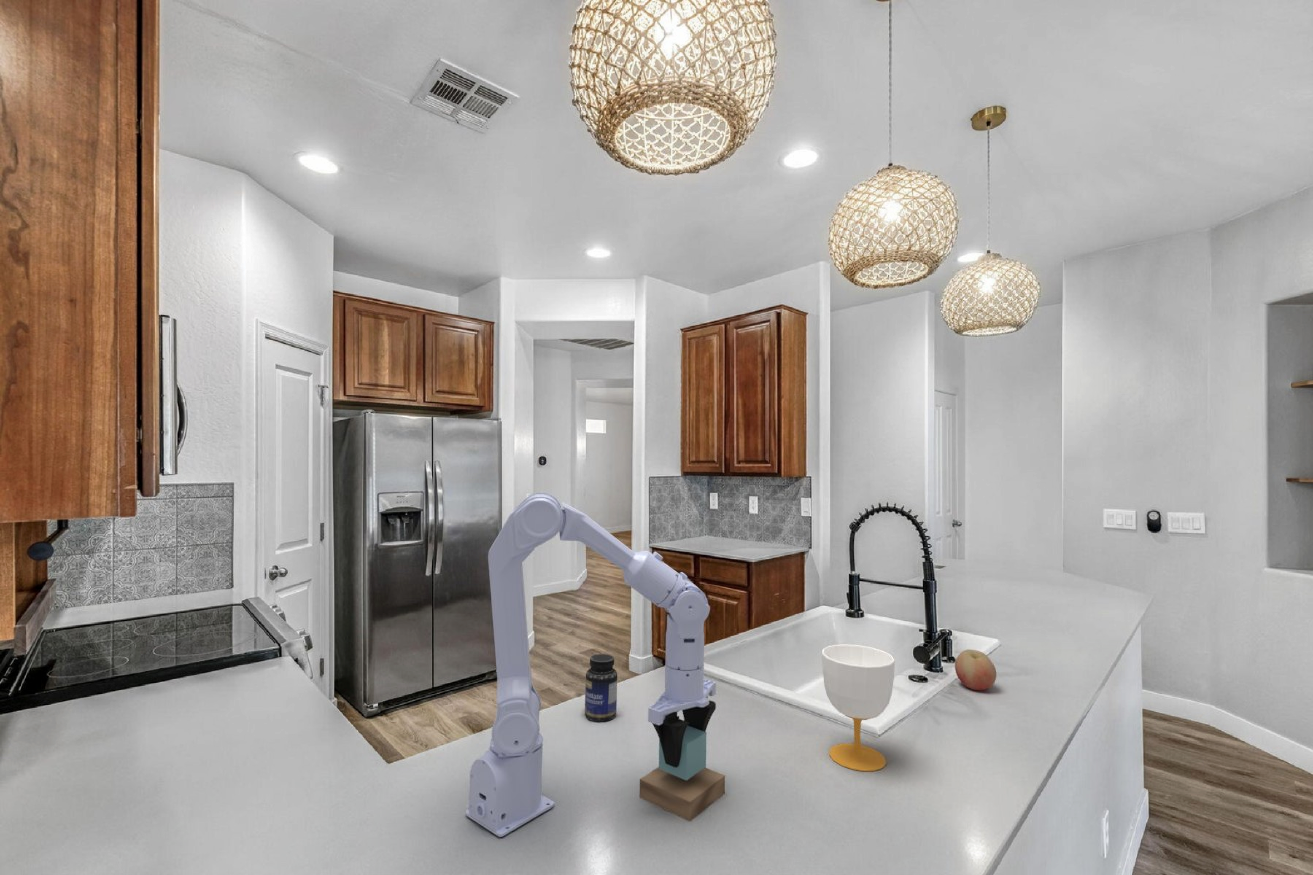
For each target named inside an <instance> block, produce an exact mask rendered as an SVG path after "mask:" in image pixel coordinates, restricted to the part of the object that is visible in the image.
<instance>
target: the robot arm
mask: <svg viewBox="0 0 1313 875" xmlns="http://www.w3.org/2000/svg"><path fill="white" fill-rule="evenodd" d="M561 504H562V506H561ZM561 504H560V502H559V500H558V499H557V498H556V497H555V496H553V495H552V494H550V493H547V492H536V493H532V494H530V495H529V496H527V497H526V498H525V499H524V500H522V502H520V503H519V504H518V505H517V506H515V508H513V510H512V512H511V513H510V514H509V516H508V518H507V520H506V521H505V522H504V525H503V526H502V527H501V530H500V531H499V533H498V535H497V536H496V538H495V540H494V542H493V543H492V545H491V547H490V548H489V550H488V553H487V554H488V555H487V560H488V563H487V564H488V571H489V572H488V573H489V574H488V575H489V587H490V588H489V590H490V599H491V612H492V613H491V614H492V615H491V616H492V624H493V625H492V626H493V639H494V640H493V642H494V651H495V652H494V653H495V664H496V665H495V666H496V678H497V683H496V684H497V685H496V686H497V687H496V714H495V719H494V722H493V725H492V727H491V739H490V744H489V747H488V749H487V750H486V751H485V752H484V753H483V755H480V757H479V758H477V759H476V760H475V761H473V763H472V765H471V768H470V774H469V795H468V796H469V798H468V799H469V800H468V801H469V802H468V803H469V804H468V809H466V811H465V816H466V817H467V818H470V819H471V820H473V821H474V822H476V823H477V824H479V825H480V826H482V827H483V828H485V829H486V830H487V831H489V832H491V833H493V834H494V835H496V837H499V838H501V837H502V838H503V837H504V836H506V835H508V834H509V833H511V832H512V831H514V830H516V829H518V828H519V827H521V826H523V825H524V824H527V822H530V821H531V820H533V819H534V818H537V817H538V816H540V815H541V814H544V813H545V812H547V811H549V810H550V809H552V808H553V807H554V806H555V801H553V800H552V799H550V798H548V797H546V796H544V795H542V789H543V788H542V784H543V783H542V782H543V779H542V778H543V749H544V748H543V745H544V744H543V742H544V738H543V737H544V736H543V735H542V734H541V733H540V732H541V729H540V728H541V727H540V710H541V705H542V702H541V697H540V695H539V693H538V692H537V690H536V688H535V687H534V683H533V675H532V674H533V673H532V670H531V661H530V660H531V658H530V646H529V634H528V622H527V607H526V606H527V605H526V594H525V584H524V582H525V581H524V569H523V562H524V561H525V560H526V559H527V558H528V557H529V556H530V555H531V554H532V553H533V551H535V549H536V548H537V547H539V546H541V545H543V544H544V543H546V542H548V541H550V540H552V539H553V538H554V537H556V536H557V535H559V540H560V541H565V542H566V541H568V542H574V541H575V542H580V543H582V544H583V545H585V546H586V547H588V548H589V549H591V550H592V551H594V552H595V553H597V554H598V555H600V556H601V557H603V558H604V559H606V560H607V561H609V562H610V563H612V564H614V566H616V567H618V568H619V569H621V570H622V574H623V580H624V583H625V584H626V585H627V586H629V587H630V588H632V589H633V590H635V591H636V592H637V593H639V594H640V595H641V596H643V597H644V598H646V600H648V601H650V602H651V603H652V604H654V605H655V606H657V607H658V608H664V610H665V612H666V613H669V614H667V616H666V632H665V664H664V666H665V667H664V671H665V672H664V674H665V675H664V692H663V693H662V694H661V695H660V696H659V697H658V699H657V700H656V701H655V702H654V703H653V705H651V706H649V707H648V710H647V712H648V713H647V714H648V715H647V721H648V722H649V723H651V724H652V726H653V728H654V730H655V731H656V734H657V736H658V740H659V739H660V743H661V746H662V750H663V755H664V760H665V764H668V765H670V766H673V767H675V768H677V767H678V766H679V763H680V758H681V750H682V742H683V737H684V733H685V730H686V728H687V726H690V727H693V728H696V729H698V730H701V731H704V732H706V733H707V729H708V725H709V723H710V720H711V718H712V717H713V714H714V713H715V711H716V708H717V705H716V704H717V703H716V702H715V701H714V700H711V699H710V698H708V696H710V697H713V696H715V695H716V694H717V693H716V692H717V691H716V690H717V689H716V688H717V683H716V681H713V680H709V679H706V678H705V679H704V673H705V672H704V670H705V669H704V668H705V664H704V662H705V633H704V632H705V625H704V624H705V621H706V620H707V618H708V616H709V615H710V610H711V606H710V605H709V602H708V601H709V600H708V598H707V597H706V593H705V592H703V591H702V589H700V588H699V587H698V586H697V585H696V584H694V582H692V580H691V579H689V578H688V576H687V575H686V573H684V572H682V571H681V572H677V571H676V570H674V568H673V567H670V565H668V564H667V563H665V562H664V561H663V559H664V557H663V556H662V555H661V554H660V553H658V552H657V551H654V552H653V553H652V552H650V551H649V550H640V551H633V550H632V549H631V548H630V547H628V546H627V545H626V544H624V543H623V542H622V541H620V540H619V539H618V538H616V537H615V536H614V535H613V534H611V533H610V532H609V531H607V530H606V529H605V528H603V526H601V525H599V523H597V522H596V521H595V520H593V519H592V518H590V516H588V515H587V514H586V513H584V512H582V511H580V510H578V509H577V508H575V507H573V506H571V505H569V504H567V503H566V502H563V501H561ZM558 533H559V534H558ZM680 711H681V713H682V715H683V719H680V716H679V715H678V712H680Z"/></svg>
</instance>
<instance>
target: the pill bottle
mask: <svg viewBox="0 0 1313 875" xmlns="http://www.w3.org/2000/svg"><path fill="white" fill-rule="evenodd" d="M614 665H615V657H614V656H613V655H611V654H608V653H598V654H593V655H592V656H590V658H589V667H590V668H589V669H588V670H586V673H585V686H584V687H585V689H584V690H585V693H584V695H585V696H584V716H585V718H587V720H590V721H594V722H608V721H610V720H612V719H614V718H615V717H616V716H617V701H618V672H617V670H616V669H615V668H614Z"/></svg>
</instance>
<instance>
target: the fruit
mask: <svg viewBox="0 0 1313 875" xmlns="http://www.w3.org/2000/svg"><path fill="white" fill-rule="evenodd" d="M954 670H955V673H956V676H957V678H958V680H959V681H960V682H961V684H963V685H964V686H965V687H966V688H969V689H970V690H972V691H973V690H974V691H985V690H988V689H991V688H992V686H993V685H994V684H995V682H996V681H997V669H996V667H995V665H994V663H993V661H992V660H991V659H990V658H989V656H988V655H987V654H986V653H984V652H982V651H979V650H976V649H965V650H963V651H961V652H960V653H959V654H958V655H957V656H956V658H955V661H954Z"/></svg>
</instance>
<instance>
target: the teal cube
mask: <svg viewBox="0 0 1313 875" xmlns="http://www.w3.org/2000/svg"><path fill="white" fill-rule="evenodd" d="M658 741H659V742H658V767H659V769H660V770H663V771H665V772H668V773H670V774H672V775H675V776H677V777H679V778H682V779H684V780H688V779H689V778H691V777H692V776H694V775H695V774H696V773H698V772H699V771H701V770H702V769H703V768H707V731H706V732H704V731H701V730H698V729H696V728H693V727H690V726H687V728H686V730H685V733H684V737H683V742H682V750H681V758H680V763H679V766H678V767H677V768H675V767H673V766H670V765H668V764H665V760H664V755H663V750H662V746H661V743H660V739H659V738H658Z"/></svg>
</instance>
